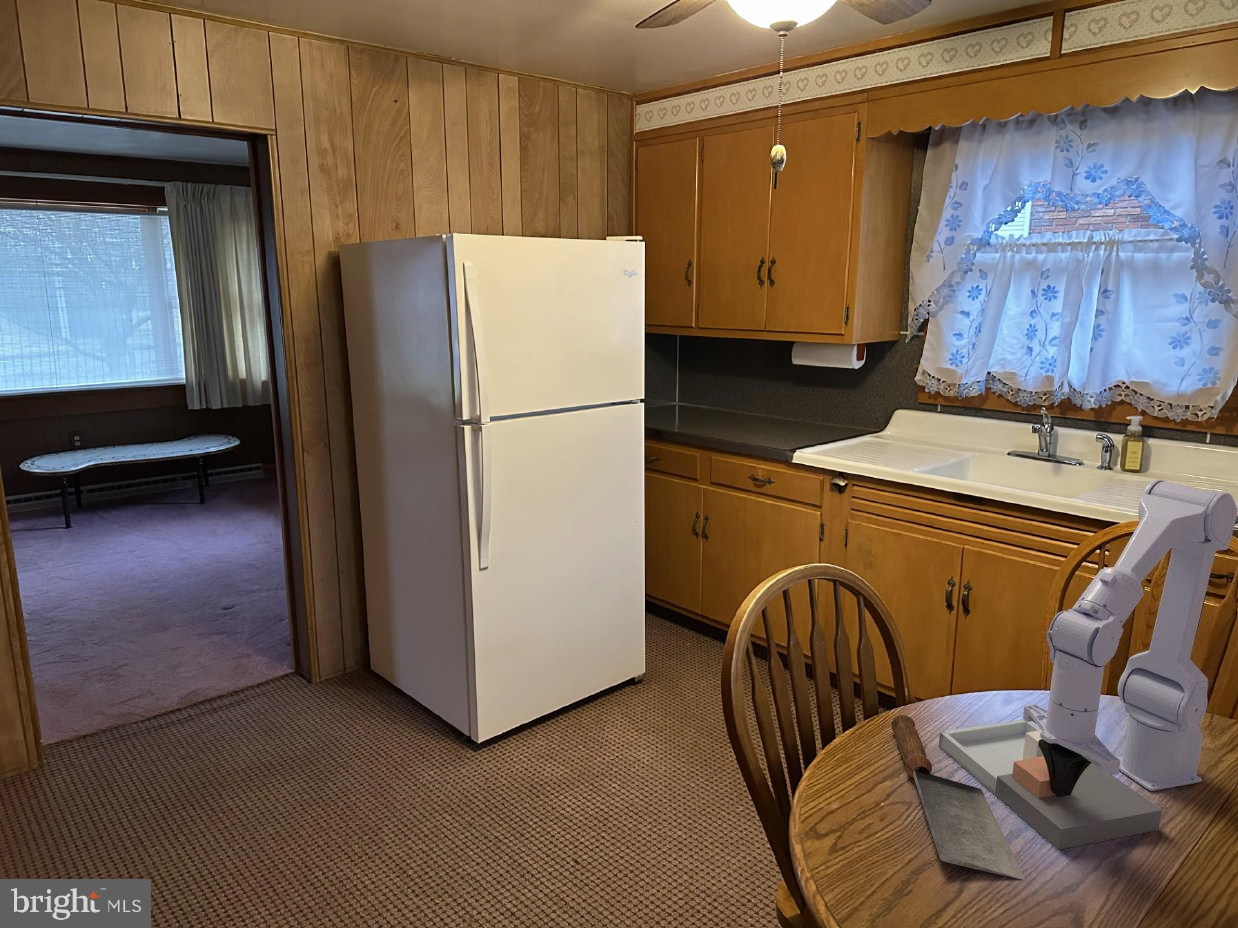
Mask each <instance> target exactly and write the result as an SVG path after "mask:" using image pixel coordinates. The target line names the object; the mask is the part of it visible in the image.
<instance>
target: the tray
mask: <svg viewBox="0 0 1238 928" xmlns="http://www.w3.org/2000/svg"><path fill="white" fill-rule="evenodd" d="M1040 730H1041V729H1040V728H1039V726H1038V725H1037V724H1035V723H1034V722H1033V721H1030V722H1029V721H1026V720H1025V719H1024V718H1022V719H1018V720H1017V719H1016V720H1010V721H1005V722H1004V721H1003V722H997V723H991V724H985V725H978V726H977V725H976V726H971V727H963V728H957V729H950V730H943V731H939V738H938V747H939V748H940V749H941V750H942V752H945V753H946V754H947V755H948V756H949V757H950V758H951V759H952V760H954V761H955V762H956V763H957V764H958V765H960V766H961V767H962V768H963V769H964V770H965V771H966V772H968V773H969V774H970V775H971V776H972V777H973V778H975V779H976V780H977V781H978V782H979V783H980V784H981V785H982V786H984V787H985V788H986V789H987V790H988V791H990V793H992V795H994V796H995V790H996V781H997V776H1001V775H1007V774H1012V773H1013V765H1014V761H1019V760H1023V752H1024V744H1025V736H1026V733H1027V732H1034V731H1040Z"/></svg>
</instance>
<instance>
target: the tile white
mask: <svg viewBox="0 0 1238 928" xmlns="http://www.w3.org/2000/svg"><path fill="white" fill-rule="evenodd" d="M1041 731H1042V730H1040V731H1034V732H1027V733H1026V736H1025V744H1024V752H1023V760H1024V759H1030V758H1035V757H1041V756H1043V753H1042V751H1041V749H1040V747H1039V746H1038V743H1039V740H1040V739H1042V738H1041V737H1040V732H1041Z"/></svg>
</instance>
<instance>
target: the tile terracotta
mask: <svg viewBox="0 0 1238 928" xmlns="http://www.w3.org/2000/svg"><path fill="white" fill-rule="evenodd" d="M1012 778H1013V779H1015V780H1016V781H1017V782H1019V783H1020V784H1021V785H1022V786H1024V787H1025V788H1026V789H1027V790H1029V791H1030V792H1031V793H1033V794H1034V795H1035V796H1036V797H1038V798H1041V797H1047V796H1052V795H1055V794H1054V793H1053V792H1052V791H1051V785H1050V779H1049V773H1048V768H1047V765H1046V761H1045V758H1044V756H1041V757H1035V758H1030V759H1024V760H1019V761H1014V765H1013V773H1012Z"/></svg>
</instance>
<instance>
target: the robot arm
mask: <svg viewBox="0 0 1238 928" xmlns="http://www.w3.org/2000/svg"><path fill="white" fill-rule="evenodd" d="M1137 512H1138V515H1137V516H1138V522H1139V523H1138V525H1137V526H1136V528H1135V530H1134V531H1133V534H1131V537H1130V538H1129V541H1128V542H1127V544H1126V546H1125V548H1124V549H1123V551H1122V552H1121V554H1120V556H1119V557H1118V559H1117V561H1116V562H1115V564H1114V566H1111V567H1104V568H1101V569H1100V570H1099V571H1098V573H1097V574H1096V575H1095V576H1094V578H1093V579H1092V581H1091V582H1090V583H1089V585H1088V586H1087V587H1086V589H1085V590H1084V592H1083V593H1082V594H1081V596H1080V597H1079V598H1078V600H1076V603H1074V605H1073V606H1072V608H1070V609H1067V610H1061V611H1060V612H1058V613H1057V614H1056V615H1055V616H1054V617H1053V619H1052V621H1051V623H1050V626H1049V629H1048V631H1047V632H1046V641H1047V644H1048V647H1049V649H1050V651H1049V652H1050V653H1049V659H1050V661H1051V663H1053V666H1052V667H1053V668H1052V674H1051V681H1050V688H1049V689H1050V690H1049V697H1048V706H1047V709H1045V708H1043V707H1041V706H1040V705H1039V704H1036V703H1035V704H1028V705H1024V707H1023V715H1022V719H1025V720H1026V721H1029V722H1032V723H1033V724H1035V725H1036V726H1037V727H1039V728H1040V729H1041V730H1042V731H1041V732H1040V737H1041V738H1042V739H1040V740H1039V743H1038V746H1039V747H1040V749H1041V751H1042V753H1043V756H1044V758H1045V761H1046V765H1047V768H1048V773H1049V779H1050V785H1051V791H1052V792H1053V793H1054V794H1055V795H1056V796H1058V797H1064V796H1069V795H1071V793H1072V791H1073V789H1074V787H1075V785H1076V783H1077V781H1078V779H1079V777H1080V776H1081V774H1082V773H1083V772H1084V771H1085V769H1086V768H1087V767H1088V766H1089V765H1090V764H1091V763H1093V764H1094V765H1096V766H1097V767H1099V768H1100V772H1101V773H1102V774H1104V775H1105V776H1109V775H1112V776H1114V775H1118V774H1119V773H1120V772H1121V773H1123V774H1125V775H1126V776H1127V777H1129V778H1130V779H1132V780H1133V781H1135V782H1136V783H1138V784H1139V785H1140V786H1142V787H1144V788H1145V789H1146V790H1148V791H1151V792H1153V791H1158V790H1159V791H1160V790H1164V789H1171V788H1176V787H1181V786H1187V785H1192V784H1199V783H1201V782H1202V779H1203V778H1202V777H1200V776H1199V775H1198V770H1199V764H1200V758H1201V753H1202V747H1203V741H1204V739H1203V734H1202V730H1201V728H1200V725H1199V724H1200V723H1201V722H1202V720H1203V719H1204V717H1205V715H1206V712H1207V709H1208V688H1209V679H1208V677H1207V676H1206V675H1205V674H1204V673H1203V672H1202V671H1201V670H1200V668H1199V667H1197V665H1196V664H1195V663H1194V662H1193V661H1192V659H1191V656H1192V651H1193V647H1194V642H1195V639H1196V635H1197V630H1198V625H1199V622H1200V618H1201V615H1202V609H1203V606H1204V601H1205V597H1206V592H1207V588H1208V585H1209V580H1210V576H1211V572H1212V569H1213V565H1214V559H1215V556H1216V553H1217V551H1218V552H1219V551H1224V550H1225V551H1226V550H1228V549H1229V547H1230V546H1229V545H1230V543H1231V541H1232V537H1233V534H1234V529H1235V525H1236V521H1237V517H1238V507H1237V505H1236V501H1235V499H1234V498H1233V496H1232V495H1231V494H1230V493H1228V492H1225V491H1223V492H1219V491H1213V490H1207V489H1203V488H1198V487H1195V486H1194V487H1193V486H1189V485H1182V484H1178V483H1173V482H1169V481H1168V482H1167V481H1165V480H1163V479H1159V478H1158V479H1153V481H1151V482H1150V483H1149V484H1147V485H1146V487H1145V488H1144V490H1142V493H1141V495H1140V499H1139V502H1138V511H1137ZM1170 550H1172V551H1171V554H1170V558H1169V563H1168V568H1167V571H1166V576H1165V580H1164V584H1163V589H1162V593H1161V597H1160V600H1159V601H1160V602H1159V605H1158V610H1157V615H1156V620H1155V624H1154V627H1153V628H1154V629H1153V631H1152V636H1151V641H1150V644H1149V649H1148V650H1145V651H1143V652H1139V653H1136V654H1134V655H1132V656H1130V657H1129V658H1128V660H1127V663H1126V665H1125V666H1126V667H1125V669H1124V671H1123V673H1122V674H1121V675H1120V678H1119V681H1118V684H1117V694H1118V698H1119V700H1120V702H1121V703H1122V704H1125V705H1124V712H1126V713H1128V717H1127V718H1128V719H1127V725H1126V730H1125V731H1126V732H1125V739H1124V745H1123V751H1122V755H1119V756H1115V755H1114V754H1113V753H1112V752H1111V751H1110V750H1109V749H1108V748H1107V746H1106V745H1105V744H1104V743H1103V742H1102V741H1101V739H1100V738H1099V737H1098V736H1097V734H1096V730H1097V729H1096V728H1097V727H1096V726H1097V722H1098V715H1099V709H1100V700H1101V692H1102V686H1103V680H1104V674H1105V673H1104V671H1105V667H1106V666H1105V665H1107V664H1108V663H1109V662H1110V661H1111V660H1112V658H1113V657H1114V656H1115V654H1116V652H1117V650H1118V646H1119V644H1120V640H1121V637H1122V636H1123V633H1124V627H1123V625H1124V623H1126V620H1128V619H1129V617H1130V615H1132V612H1133V611H1134V609H1135V608H1136V606H1137V605H1138V604H1139V602H1140V601H1141V600H1142V598H1143V597H1144V595H1145V592H1144V588H1143V586H1142V582H1143V580H1145V578H1146V577H1147V576H1148V574H1150V573H1151V571H1152V570H1153V569H1155V567H1156V566H1157V565H1158V564H1159V562H1160V561H1161V560H1162V559H1163V558H1164V557H1165V555H1166V554H1167V553H1168V552H1169V551H1170Z"/></svg>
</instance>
